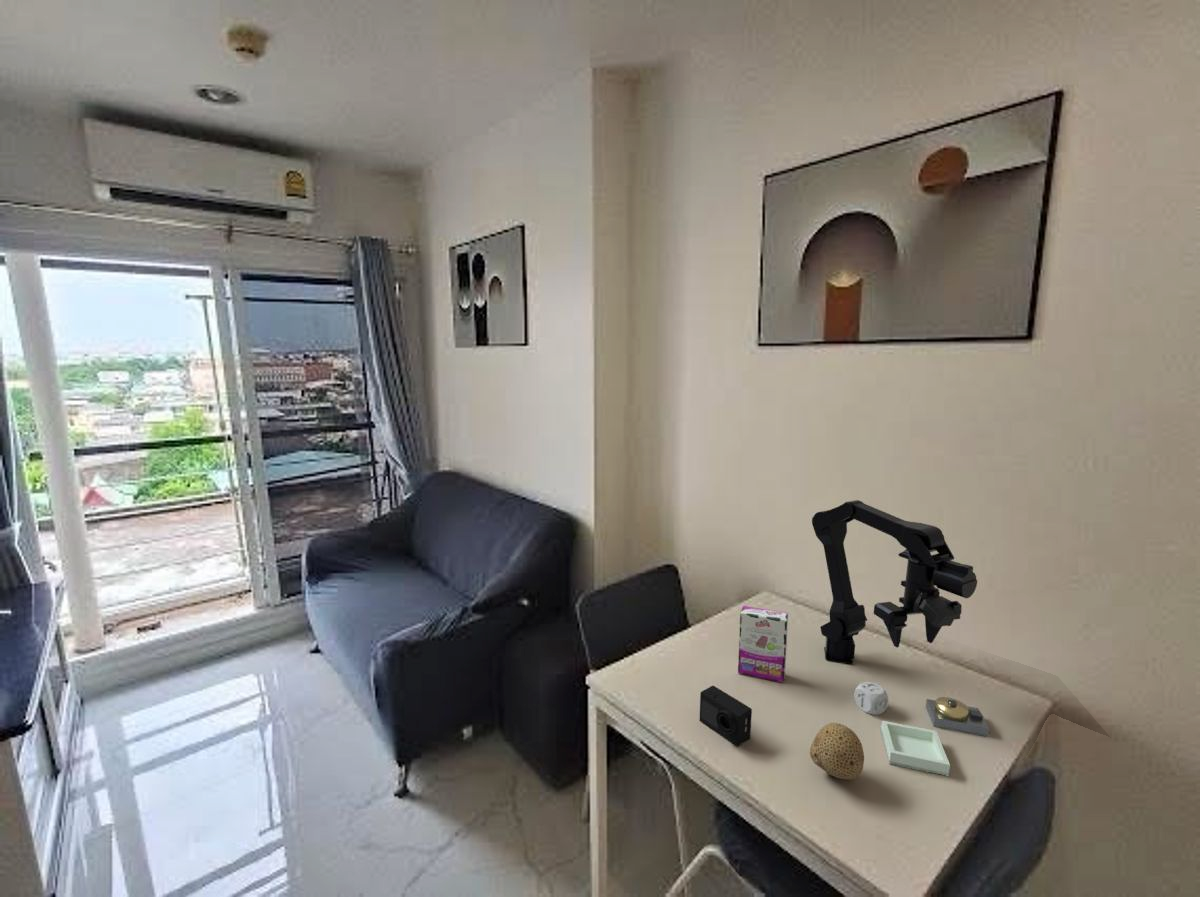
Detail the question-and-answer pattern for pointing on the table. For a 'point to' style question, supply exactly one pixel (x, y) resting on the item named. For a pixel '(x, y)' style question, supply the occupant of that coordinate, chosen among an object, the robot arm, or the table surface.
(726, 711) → the digital camera
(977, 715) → the call bell
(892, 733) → the tray
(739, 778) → the table surface
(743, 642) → the candy bar box
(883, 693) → the die
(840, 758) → the natural sponge
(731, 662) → the table surface
